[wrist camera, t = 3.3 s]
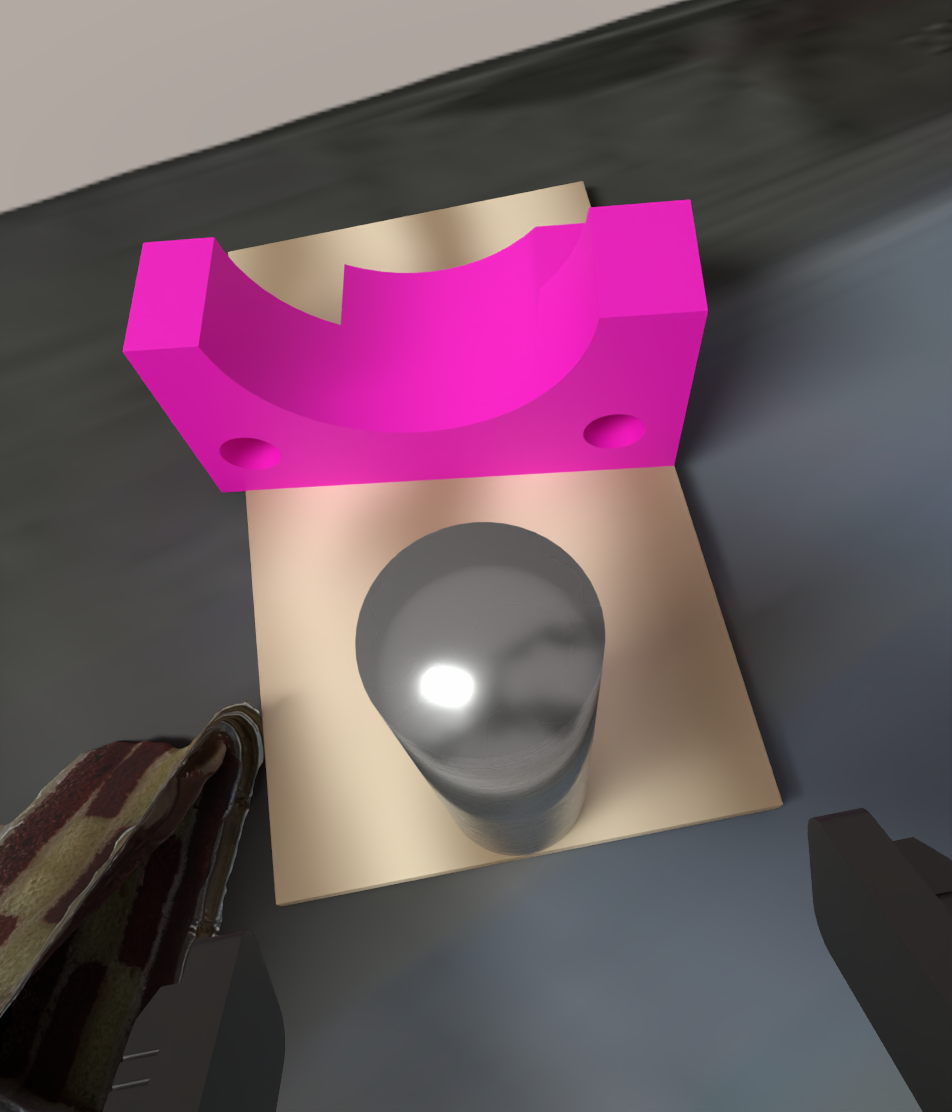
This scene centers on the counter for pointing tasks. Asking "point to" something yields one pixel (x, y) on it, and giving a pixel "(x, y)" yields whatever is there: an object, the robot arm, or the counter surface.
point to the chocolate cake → (113, 901)
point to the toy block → (433, 359)
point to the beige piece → (481, 634)
